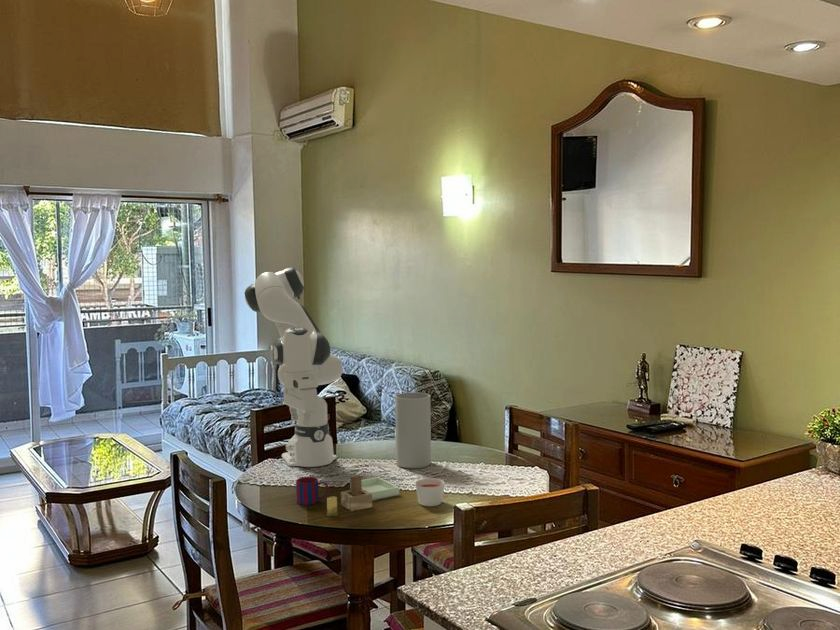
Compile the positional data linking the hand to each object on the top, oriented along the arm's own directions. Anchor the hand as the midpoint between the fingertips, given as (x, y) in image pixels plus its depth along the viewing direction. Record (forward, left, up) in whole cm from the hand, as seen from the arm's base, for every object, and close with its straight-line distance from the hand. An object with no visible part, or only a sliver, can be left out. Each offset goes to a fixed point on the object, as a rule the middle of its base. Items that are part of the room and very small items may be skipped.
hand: (300, 422), depth 243 cm
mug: (+10, -1, -23) cm, 25 cm away
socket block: (+21, +9, -23) cm, 32 cm away
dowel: (+21, +9, -23) cm, 32 cm away
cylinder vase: (-8, +47, -23) cm, 53 cm away
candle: (+31, +29, -23) cm, 48 cm away
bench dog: (+24, -1, -23) cm, 33 cm away
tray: (+12, +20, -23) cm, 32 cm away
